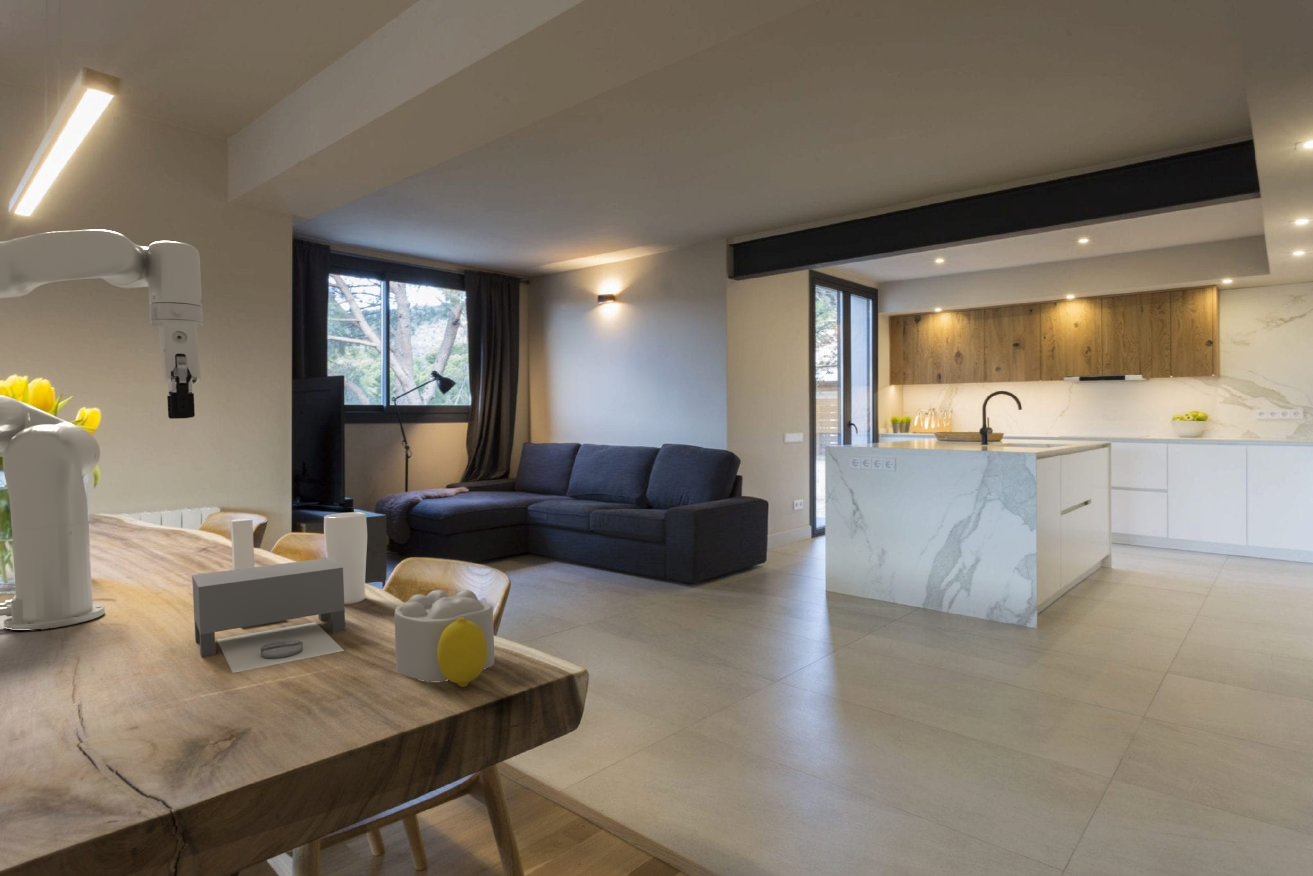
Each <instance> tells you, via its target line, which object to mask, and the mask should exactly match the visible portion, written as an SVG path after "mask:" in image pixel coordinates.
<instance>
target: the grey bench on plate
mask: <svg viewBox="0 0 1313 876" xmlns="http://www.w3.org/2000/svg"><path fill="white" fill-rule="evenodd" d="M192 597H193V598H192V600H193V602H192V603H193V619H194V621H193V622H194V640H195V643H199V649H200V651H199V652H200V656H201V658H206V657H211V656H216V634H215V633H217V632H223V631H224V632H225V631H228V630H234V629H236V630H237V629H243V628H242V627H245V628H249V627H248V626H251V627H255V626H254V625H256V626H261V625H260V624H262V625H267V624H266V623H268V624H273V623H272V622H274V623H279V622H278V621H280V622H285V621H289V620H293V619H294V620H295V619H300V618H306V617H311V616H318V620H319V621H321V622H323V621H329V620H330V629H331V632H332V634H335V633H336V634H337V633H340V632H346V614H345V613H346V612H345V604H344V583H343V567H341V566H340V565H338V564H336V563H335V562H333V561H331V560H330V559H328V558H327V557H325V558H317V559H308V560H300V561H295V562H294V561H292V562H286V563H278V564H277V563H276V564H269V565H262V566H261V565H260V566H254V567H252V568H244V569H237V570H233V569H230V570H222V571H214V572H206V573H198V574H192ZM284 620H285V621H284Z"/></svg>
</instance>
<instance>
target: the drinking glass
mask: <svg viewBox="0 0 1313 876" xmlns="http://www.w3.org/2000/svg"><path fill="white" fill-rule="evenodd" d="M367 523H368V522H367V514H366V512H361V511H359V512H357V511H355V512H340V513H333V514H327V515H324V516H323V535H324V536H323V537H324V546H325V547H324V548H325V554H326V555H325V556H326V558H328V559H330V560H331V561H333V562H335V563H336V564H338V565H340V566H341V567H343V583H344V605H351V604H358V603H360V602H362V601H364V600H365V599H366V568H367V567H366V566H367V552H368V551H367V548H368V546H367V545H368V524H367Z"/></svg>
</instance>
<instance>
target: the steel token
mask: <svg viewBox="0 0 1313 876" xmlns="http://www.w3.org/2000/svg"><path fill="white" fill-rule="evenodd" d="M302 651H303V642H302V641H298V640H286V641H278V642H273V643H269V644H266V645H264V646H262V647H261V657H262V658H266V659H278V658H285V657H290V656H294V655H297V654H299V653H301V652H302Z"/></svg>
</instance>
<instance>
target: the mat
mask: <svg viewBox="0 0 1313 876" xmlns="http://www.w3.org/2000/svg"><path fill="white" fill-rule="evenodd" d="M216 640H217V643H218V645H219V647H220V650H221V651H222V653H223V656H224V658H225V660H226V662H227V664H228V666H229V668H230V671H231V673H232V674H237V673H240V672H246V671H251V670H256V669H261V668H266V667H270V666H277V665H281V664H285V663H286V664H287V663H291V662H297V661H301V660H302V661H303V660H307V659H312V658H317V657H321V656H325V655H332V654H335V653H336V654H337V653H342V652H345V650H344V649H343V648H342V647H341V646H340V644H338V642H336V641H335V640H334V639H333V638H332V637H331V636H330V635H329V634H328V633H327V632H326V631H325V630H324V629H323V628H322V627H321V626H320V625H319V624H318V623H317V622H307V623H304V624H298V625H291V626H285V627H280V628H273V629H269V630H268V629H267V630H264V631H263V630H261V631H257V632H251V633H246V634H241V635H233V636H227V637H223V638H217V639H216ZM286 640H298V641H302V642H303V651H302V652H301V653H299V654H297V655H294V656H290V657H285V658H278V659H266V658H262V657H261V647H262V646H264V645H266V644H269V643H273V642H278V641H286Z"/></svg>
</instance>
